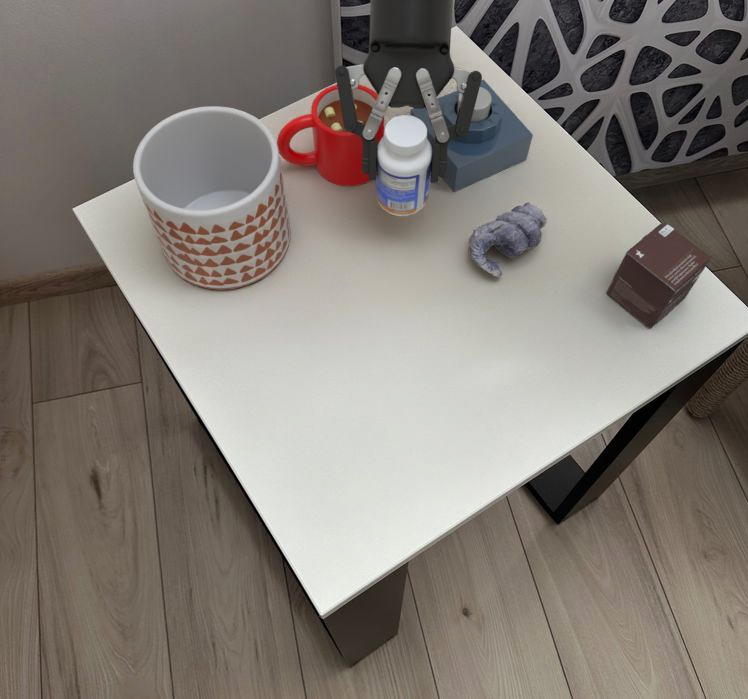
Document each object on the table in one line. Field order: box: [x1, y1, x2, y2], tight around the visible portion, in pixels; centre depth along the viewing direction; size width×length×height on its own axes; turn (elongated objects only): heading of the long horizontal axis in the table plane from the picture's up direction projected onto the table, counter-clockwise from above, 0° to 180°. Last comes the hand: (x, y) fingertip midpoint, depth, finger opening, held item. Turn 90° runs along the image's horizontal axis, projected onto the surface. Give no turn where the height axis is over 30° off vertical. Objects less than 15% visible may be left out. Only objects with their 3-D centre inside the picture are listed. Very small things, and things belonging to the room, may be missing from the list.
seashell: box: [468, 202, 548, 279], centre depth 81 cm, size 5×5×10 cm
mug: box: [276, 83, 385, 187], centre depth 85 cm, size 8×12×8 cm, turn 106°
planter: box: [132, 105, 291, 291], centre depth 78 cm, size 14×14×13 cm
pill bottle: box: [375, 114, 432, 217], centre depth 76 cm, size 5×5×10 cm
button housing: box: [409, 79, 534, 193], centre depth 87 cm, size 10×10×6 cm
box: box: [606, 221, 712, 329], centre depth 77 cm, size 6×6×7 cm
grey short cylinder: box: [457, 87, 492, 123], centre depth 84 cm, size 4×4×2 cm
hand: (403, 180), depth 75 cm, fingers closed on pill bottle, 5 cm apart
